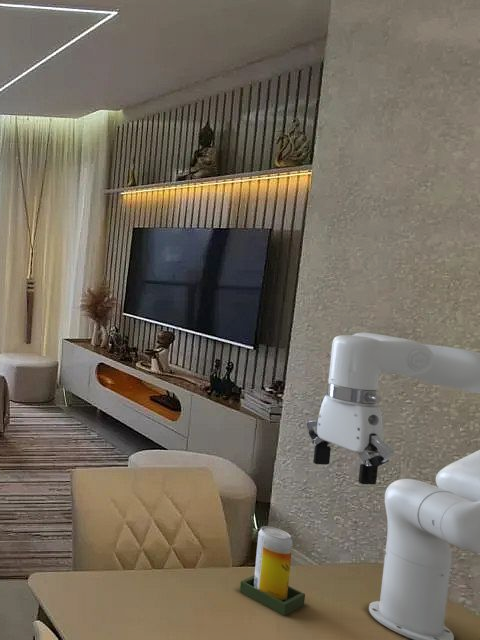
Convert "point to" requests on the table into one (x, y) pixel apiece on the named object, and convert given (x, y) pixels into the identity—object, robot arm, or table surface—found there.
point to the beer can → (273, 562)
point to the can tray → (283, 607)
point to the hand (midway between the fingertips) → (343, 473)
